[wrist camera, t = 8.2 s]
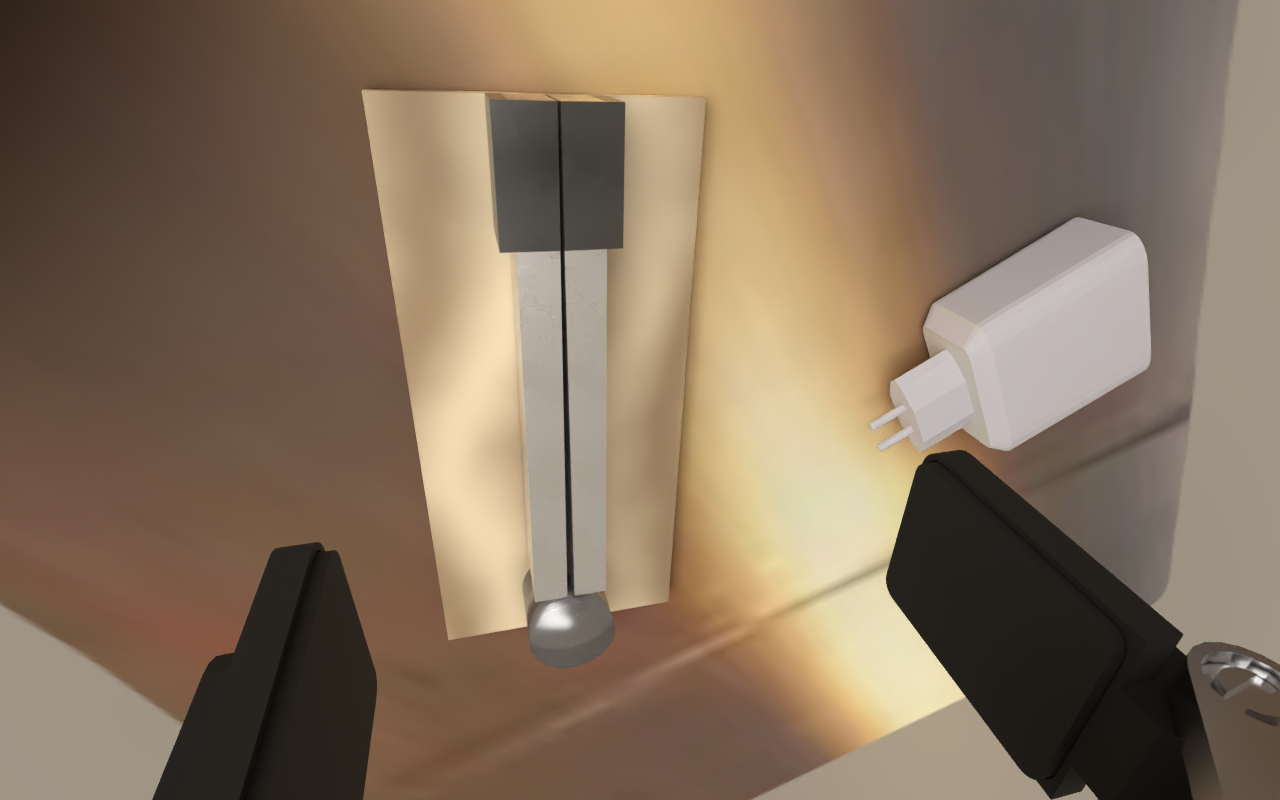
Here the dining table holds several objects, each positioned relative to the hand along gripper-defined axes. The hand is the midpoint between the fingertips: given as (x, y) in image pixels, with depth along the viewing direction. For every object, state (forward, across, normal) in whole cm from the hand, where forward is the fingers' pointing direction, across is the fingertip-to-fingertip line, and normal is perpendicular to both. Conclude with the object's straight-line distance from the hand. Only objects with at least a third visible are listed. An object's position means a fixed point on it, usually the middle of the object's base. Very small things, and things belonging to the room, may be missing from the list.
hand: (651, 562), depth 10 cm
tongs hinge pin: (+19, 0, +20) cm, 27 cm away
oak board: (+20, 0, +9) cm, 22 cm away
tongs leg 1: (+19, +1, +6) cm, 20 cm away
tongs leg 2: (+19, -2, +6) cm, 20 cm away
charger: (+21, -24, +9) cm, 33 cm away
